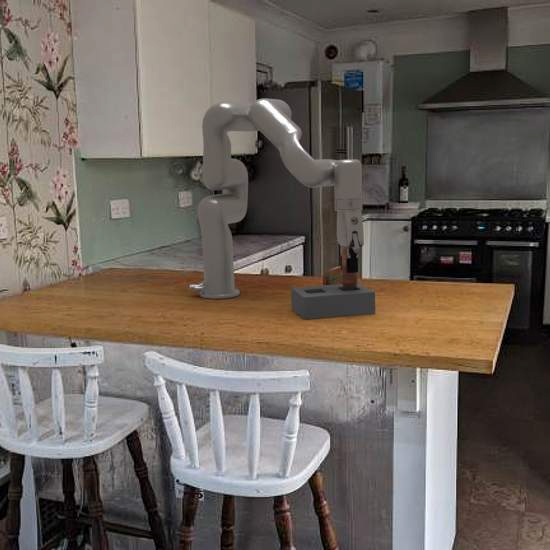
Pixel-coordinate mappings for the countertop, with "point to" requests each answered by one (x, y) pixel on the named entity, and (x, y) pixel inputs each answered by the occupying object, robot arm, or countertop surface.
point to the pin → (348, 278)
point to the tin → (333, 276)
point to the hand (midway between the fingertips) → (349, 270)
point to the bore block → (332, 301)
